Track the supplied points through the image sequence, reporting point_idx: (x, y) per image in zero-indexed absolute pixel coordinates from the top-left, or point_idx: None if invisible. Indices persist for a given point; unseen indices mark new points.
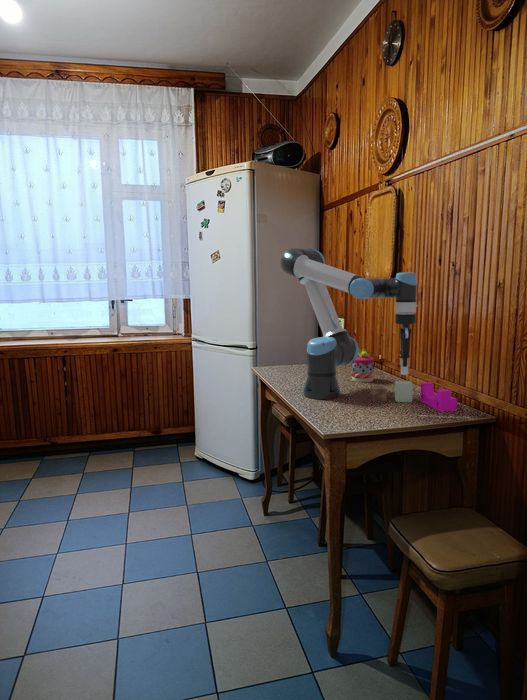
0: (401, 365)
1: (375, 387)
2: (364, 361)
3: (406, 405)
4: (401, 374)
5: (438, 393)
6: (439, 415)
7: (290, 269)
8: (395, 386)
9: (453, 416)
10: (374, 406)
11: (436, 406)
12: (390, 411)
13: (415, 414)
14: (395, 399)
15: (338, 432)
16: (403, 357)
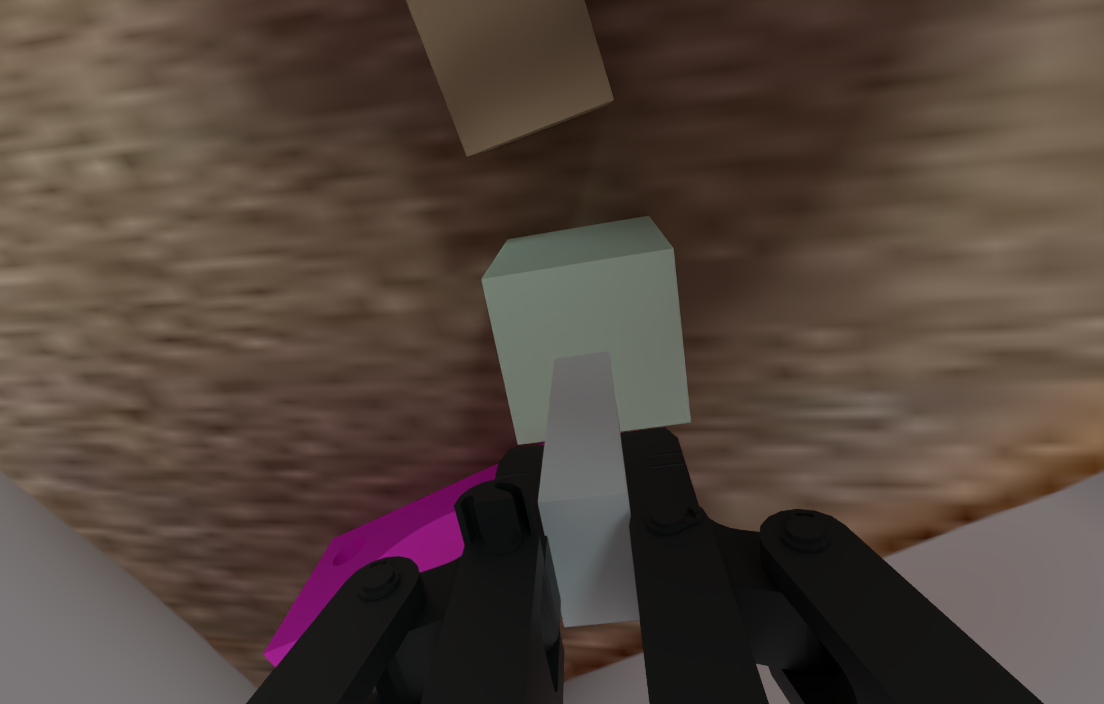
0: (549, 428)
1: (498, 2)
2: None
3: (403, 331)
4: (554, 368)
5: (305, 619)
6: (230, 532)
7: None
8: (590, 249)
9: (248, 597)
10: (250, 61)
11: (365, 534)
12: (158, 222)
13: (174, 400)
14: (555, 232)
15: None
16: (448, 565)
